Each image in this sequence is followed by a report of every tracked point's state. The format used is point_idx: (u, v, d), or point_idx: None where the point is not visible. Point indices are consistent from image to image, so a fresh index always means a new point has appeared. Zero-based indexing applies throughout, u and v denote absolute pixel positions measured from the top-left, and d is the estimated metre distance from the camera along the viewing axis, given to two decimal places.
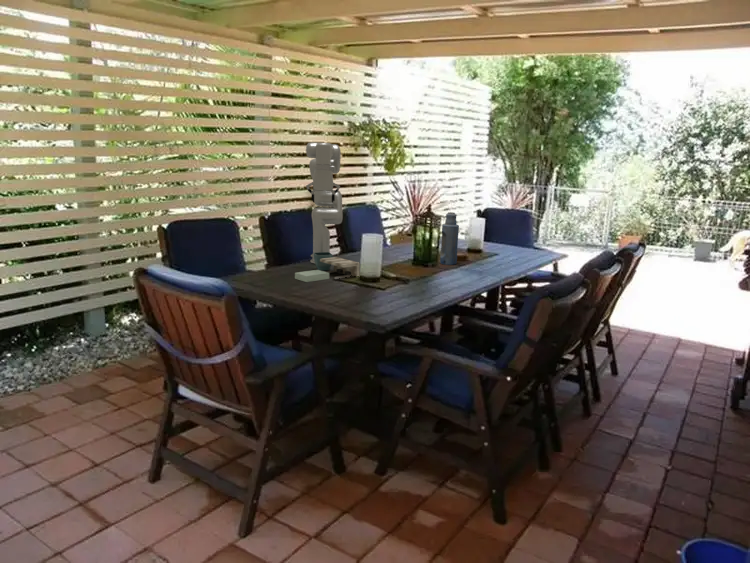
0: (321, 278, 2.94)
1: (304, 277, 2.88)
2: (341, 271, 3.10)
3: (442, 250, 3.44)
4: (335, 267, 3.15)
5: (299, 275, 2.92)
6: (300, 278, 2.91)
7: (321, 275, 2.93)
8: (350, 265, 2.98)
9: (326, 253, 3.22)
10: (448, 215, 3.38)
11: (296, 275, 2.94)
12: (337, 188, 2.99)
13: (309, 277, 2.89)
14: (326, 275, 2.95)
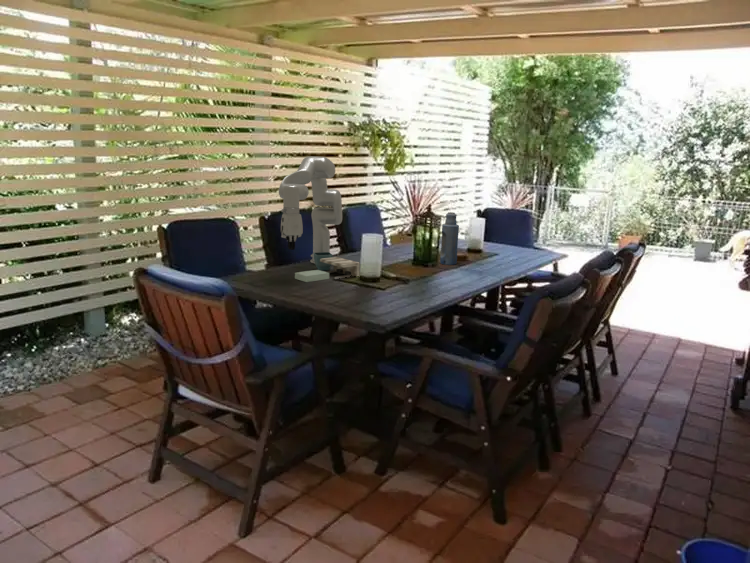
0: (321, 278, 2.94)
1: (304, 277, 2.88)
2: (341, 271, 3.10)
3: (442, 250, 3.44)
4: (335, 267, 3.15)
5: (299, 275, 2.92)
6: (300, 278, 2.91)
7: (321, 275, 2.93)
8: (350, 265, 2.98)
9: (326, 253, 3.22)
10: (448, 215, 3.38)
11: (296, 275, 2.94)
12: None
13: (309, 277, 2.89)
14: (326, 275, 2.95)
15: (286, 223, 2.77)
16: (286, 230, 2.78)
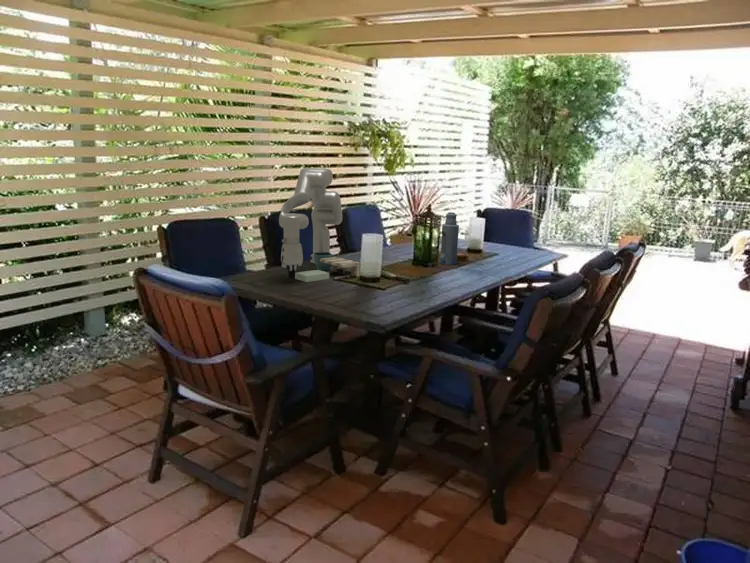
0: (321, 278, 2.94)
1: (304, 277, 2.88)
2: (341, 271, 3.10)
3: (442, 250, 3.44)
4: (335, 267, 3.15)
5: (299, 275, 2.92)
6: (300, 278, 2.91)
7: (321, 275, 2.93)
8: (350, 265, 2.98)
9: (326, 253, 3.22)
10: (448, 215, 3.38)
11: (296, 275, 2.94)
12: None
13: (309, 277, 2.89)
14: (326, 275, 2.95)
15: (286, 253, 2.80)
16: (286, 260, 2.81)
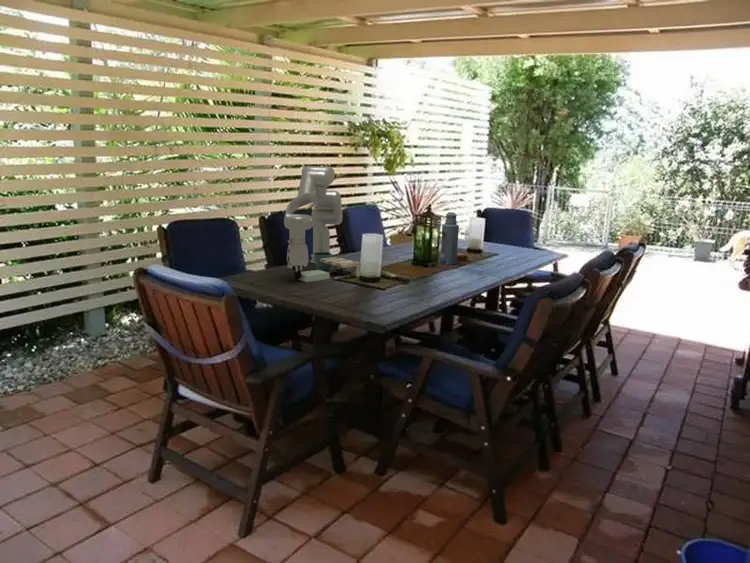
0: (321, 278, 2.94)
1: (304, 277, 2.88)
2: (341, 271, 3.10)
3: (442, 250, 3.44)
4: (335, 267, 3.15)
5: None
6: None
7: (321, 275, 2.93)
8: (350, 265, 2.98)
9: (326, 253, 3.22)
10: (448, 215, 3.38)
11: None
12: (290, 266, 2.87)
13: (309, 277, 2.89)
14: (326, 275, 2.95)
15: (292, 253, 2.83)
16: (292, 261, 2.83)
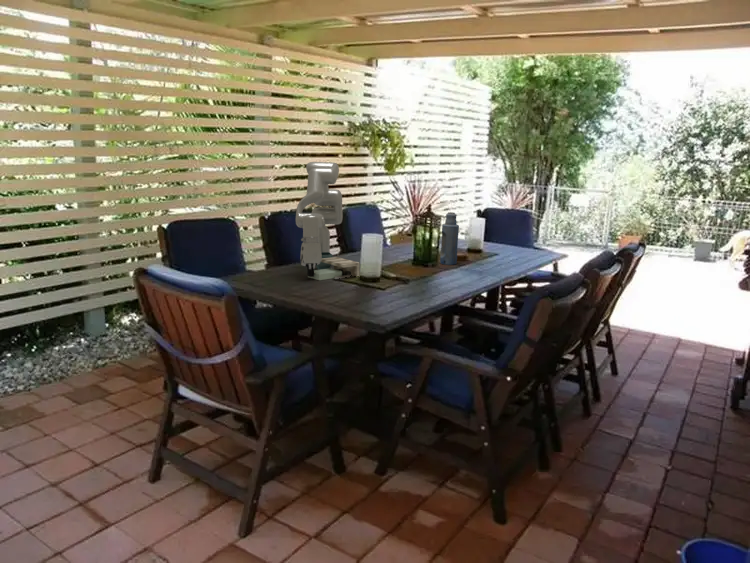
0: (334, 276, 2.98)
1: (317, 275, 2.93)
2: None
3: (442, 250, 3.44)
4: (335, 267, 3.15)
5: None
6: None
7: (334, 273, 2.98)
8: (350, 265, 2.98)
9: (326, 253, 3.22)
10: (448, 215, 3.38)
11: None
12: None
13: (322, 275, 2.93)
14: (339, 273, 3.00)
15: (306, 251, 2.88)
16: (306, 258, 2.88)
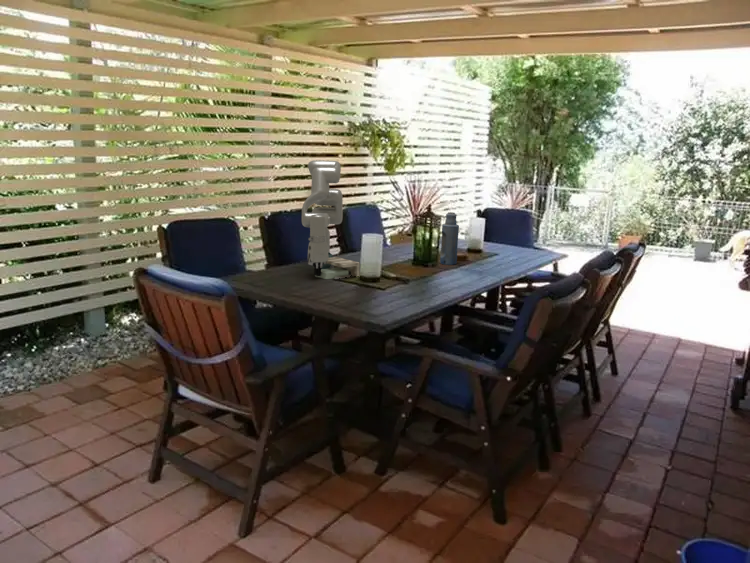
0: (340, 275, 3.01)
1: (324, 274, 2.96)
2: None
3: (442, 250, 3.44)
4: (335, 267, 3.15)
5: None
6: None
7: (341, 272, 3.01)
8: (350, 265, 2.98)
9: None
10: (448, 215, 3.38)
11: None
12: None
13: (329, 274, 2.96)
14: (345, 272, 3.03)
15: (313, 251, 2.90)
16: (313, 258, 2.91)
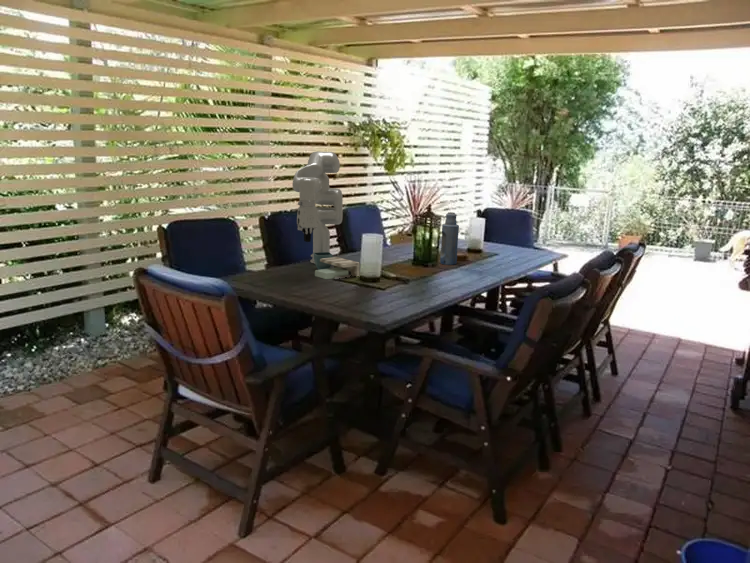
0: (340, 275, 3.01)
1: (324, 274, 2.96)
2: None
3: (442, 250, 3.44)
4: (335, 267, 3.15)
5: (319, 272, 2.99)
6: (320, 275, 2.99)
7: (340, 272, 3.01)
8: (350, 265, 2.98)
9: (326, 253, 3.22)
10: (448, 215, 3.38)
11: (316, 272, 3.01)
12: None
13: (329, 274, 2.96)
14: (345, 272, 3.03)
15: (302, 215, 2.83)
16: (302, 223, 2.83)
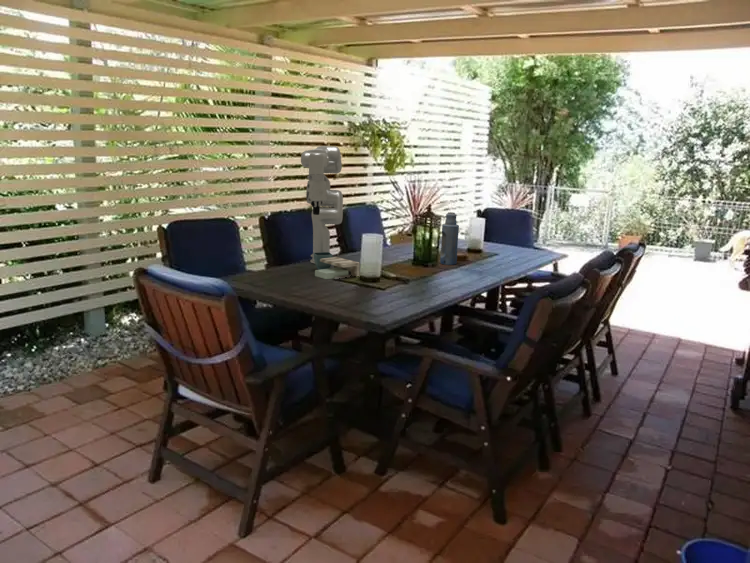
0: (340, 275, 3.01)
1: (324, 274, 2.96)
2: None
3: (442, 250, 3.44)
4: (335, 267, 3.15)
5: (319, 272, 2.99)
6: (320, 275, 2.99)
7: (340, 272, 3.01)
8: (350, 265, 2.98)
9: (326, 253, 3.22)
10: (448, 215, 3.38)
11: (316, 272, 3.01)
12: None
13: (329, 274, 2.96)
14: (345, 272, 3.03)
15: (312, 188, 2.93)
16: (311, 196, 2.94)
